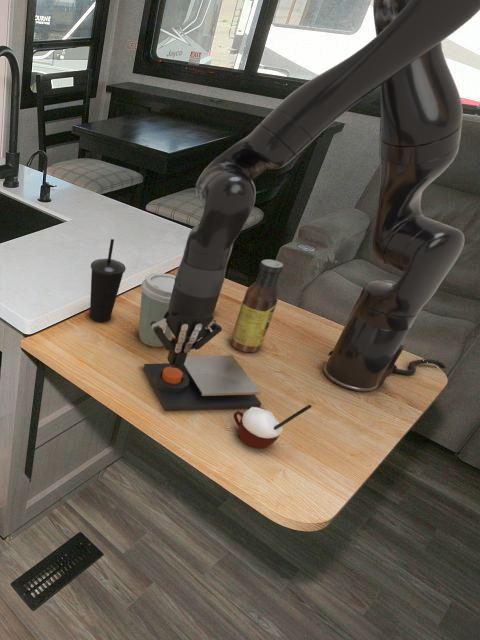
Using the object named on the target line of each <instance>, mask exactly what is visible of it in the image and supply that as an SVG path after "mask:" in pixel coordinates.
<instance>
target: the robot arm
mask: <svg viewBox="0 0 480 640" xmlns="http://www.w3.org/2000/svg"><path fill="white" fill-rule="evenodd" d="M372 11H373V12H372V13H373V23H374V28H375V37H374V38H373V39H371V41H369V42H368V43H367V44H366V45H364V46H363V47H362V48H360V49H359V50H357V51H356V52H355V53H353V54H352V55H350V56H348V57H347V58H345V59H344V60H342V61H341V62H339V63H337V64H336V65H334V66H333V67H330V68H329V69H327V70H325V71H324V72H322V73H319V74H318V75H317V76H315V77H313V78H312V79H310V80H308V81H307V82H305V83H304V84H303V85H301V86H299V87H298V88H296V89H295V90H293V91H292V92H291V93H290V94H289V95H287V96H286V97H285V98H284V99H283V100H282V101H281V102H280V103H279V104H278V105H277V106H276V107H275V108H274V109H273V110H272V111H271V112H270V113H268V115H267V116H266V117H265V118H264V119H263V120H262V121H261V122H260V123H259V124H258V125H257V126H256V127H255V128H254V129H253V130H252V131H251V132H250V133H249V134H248V135H247V136H245V137H244V138H242V139H240V140H239V141H238V142H236V143H234V144H233V145H232V146H230V147H229V148H227V150H225V151H223V152H222V153H221V154H220V155H218V156H216V158H214V159H213V160H212V161H211V162H210V163H209V164H208V165H207V166H206V167H205V168H204V169H203V171H202V172H201V174H200V175H199V176H198V178H197V179H196V183H195V195H196V197H197V199H198V200H199V202H200V203H201V205H202V206H203V211H202V216H201V218H200V221H199V223H198V224H196V225H194V226H193V227H192V228H191V230H190V231H189V233H188V236H187V239H186V243H185V246H184V251H183V255H182V258H181V261H180V263H179V265H178V268H177V271H176V275H175V276H176V277H175V283H174V287H173V290H172V294H171V298H170V302H169V309H168V311H167V312H166V313H165V315H164V319H162V320H160V321H159V322H156V321H152V322H151V323H150V326H151V327H152V329H153V331H154V332H155V334H156V335H157V337H158V338H159V339H160V341H161V342H162V344H163V345H164V346H163V347H164V348H165V350H166V351H168V354H167V358H166V359H167V363H169V364H170V365H171V366H172V368H181V365H183V364H184V363H185V360H186V357H187V356H188V353H189V352H190V351H191V350H195V351H197V350H200V349H201V348H202V347H204V346H205V345H206V344H207V343H208V342H210V341H211V340H212V339H213V338H215V337H216V336H217V335H218V334H220V333H221V332H222V330H223V328H222V326H221V325H220V323H219V322H218V321H217V320H216V319H214V315H213V314H214V313H215V312H216V310H215V308H216V304H217V301H218V302H219V297H220V294H221V291H222V287H223V285H224V282H225V278H226V272H227V268H228V264H229V260H230V257H231V255H232V251H233V248H234V243H235V241H236V240H237V238H238V237H239V236H240V234H241V232H242V231H243V229H244V227H245V225H246V223H247V222H248V220H249V218H250V217H251V215H252V212H253V209H254V207H255V204H256V198H257V196H256V195H257V188H256V185H255V183H254V181H253V180H254V179H256V178H257V177H258V176H259V175H261V174H262V173H264V172H265V171H267V170H279V169H282V168H284V167H285V166H287V165H288V164H289V163H290V162H292V161H293V160H294V159H295V158H296V157H297V156H298V155H299V154H301V152H302V151H304V150H305V149H306V148H307V147H308V146H309V145H310V144H311V143H312V142H314V141H315V139H316V138H318V137H319V136H320V135H321V134H322V133H323V132H324V131H325V130H327V128H329V127H330V126H331V125H332V124H333V123H335V121H337V120H338V119H339V118H341V116H342V115H344V114H345V113H346V112H348V111H349V110H350V109H351V108H352V107H354V106H356V105H357V104H358V103H359V102H361V101H362V100H363V99H364V98H365V97H367V96H369V95H370V94H371V93H372V92H374V91H375V90H377V89H378V88H379V98H380V99H379V103H380V104H379V106H380V108H379V109H380V120H379V122H380V123H379V153H378V154H379V188H378V203H377V211H376V215H375V216H376V217H375V223H374V230H373V235H372V236H373V237H372V251H373V254H374V256H375V257H376V259H378V260H379V261H380V262H381V263H383V264H385V265H387V266H389V267H391V268H393V269H396V270H397V271H399V272H402V275H401V277H400V278H399V280H390V279H378V280H372V281H370V282H367V283H366V284H365V285H364V287H363V288H362V290H361V292H360V294H359V296H358V298H357V300H356V302H355V304H354V307H353V308H352V311H351V313H350V314H349V316H348V319H347V320H346V323H345V324H344V327H343V329H342V331H341V333H340V335H339V337H338V339H337V341H336V343H335V345H334V347H333V349H332V350H330V351H329V353H328V355H327V357H328V360H327V362H326V363H325V365H324V366H323V373H324V375H325V376H326V377H327V379H329V380H330V381H331V382H333V383H335V384H336V385H338V386H340V387H342V388H345V389H348V390H350V391H354V392H355V391H357V392H365V393H366V392H372V391H374V390H376V389H377V388H378V387H382V386H383V384H384V383H385V381H386V380H387V378H388V377H390V376H391V374H392V372H393V373H396V374H399V375H413V374H415V373H416V371H417V369H416V367H415V366H416V365H423V364H431V365H436V366H438V367H439V368H441V369H446V368H447V367H446V365H445V363H443V362H442V361H439V360H436V359H430V358H429V359H427V358H424V359H423V358H422V359H416V360H413V361H410V362H409V363H408V368H409V369H400V368H398V366H397V365H396V362H397V361H398V359H399V357H400V355H401V354H402V352H403V351H404V345H403V344H402V343H403V341H404V340H405V338H406V336H407V334H408V333H409V331H410V329H411V327H412V325H413V324H414V322H415V320H416V319H417V317H418V315H419V314H420V312H421V311H422V309H423V307H424V306H425V305H427V303H428V302H429V301H430V300H431V298H432V297H433V296H434V294H435V293H436V292H437V290H438V288H439V287H440V285H441V284H442V282H443V281H444V279H445V278H446V276H447V275H448V274H449V272H450V271H451V269H452V268H453V266H454V265H455V264H456V262H457V260H458V258H459V257H460V255H461V253H462V251H463V248H464V245H465V235H464V233H463V232H462V231H461V230H460V229H458V228H456V227H453V226H451V225H448V224H446V223H443V222H440V221H438V220H435V219H432V218H429V217H426V216H425V215H424V214H423V213H422V209H421V202H422V195H423V192H424V190H425V189H426V188H427V187H428V186H429V185H430V184H432V183H433V182H434V181H435V180H436V179H437V178H438V177H440V176H441V175H442V174H443V173H444V171H446V170H447V169H448V168H449V166H450V165H451V164H452V163H453V162H454V160H455V158H456V156H457V155H458V152H459V150H460V149H459V148H460V144H461V138H462V137H461V135H462V127H463V117H464V110H463V109H464V108H463V103H462V99H461V96H460V93H459V90H458V86H457V84H456V82H455V80H454V78H453V75H452V73H451V71H450V67H449V66H448V63H447V60H446V59H445V54H444V51H443V47H442V46H443V44H442V42H443V41H444V40H445V39H447V38H449V37H450V36H451V35H452V34H454V33H455V32H456V31H458V30H459V29H461V28H462V26H464V25H465V24H467V22H469V21H470V20H472V18H473V17H474V16H475V15H477V13H479V12H480V0H373V3H372ZM214 311H215V312H214ZM166 325H168V327H169V328H170V330H171V339H170V340H168V338H167V337H166V335H165V334H164V333H165V332H166ZM423 360H424V361H423ZM427 362H428V363H427Z"/></svg>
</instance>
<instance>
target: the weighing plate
mask: <svg viewBox="0 0 480 640" xmlns="http://www.w3.org/2000/svg"><path fill="white" fill-rule="evenodd" d="M183 367H184V368H185V370H186V372H187V373H188V375H189V376H190V378H191V380H192V381H193V383H194V384H195V386H196V388H197V389H198V391H199V392H200V394H201V396H218V395H253V394H255V395H260V394H261V391H260V389H259V387H257V385H256V383H254V381H253V380H252V379H251V377H250V376H249V375H248V374H247V371H245V370H244V368H243V366H241V365H240V363H239V362H238V361H237V360H236V358H235V357H234V355H232V354H229V355H228V354H226V355H222V354H221V355H194V356H193V355H191V356H190V355H189V356H188V355H187V357H186V360H185V363H184V364H183Z"/></svg>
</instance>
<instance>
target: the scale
mask: <svg viewBox="0 0 480 640" xmlns="http://www.w3.org/2000/svg"><path fill="white" fill-rule="evenodd" d="M166 367H172V366H171V365H170V364H169V362H167V363H166V362H165V363H144V365H143V369H142V370H143V371H144V373H145V375H146V377H147V380H148V381H149V383H150V385H151V387H152V388H153V391H154V393H155V395H156V397H157V399H158V401H159V403H160V405H161V406H162V409H163V410H164V412H190V411H191V412H193V411H224V410H229V411H230V410H249V409H250V408H251V407H258V408H260V407H261V405H262V402H261V401H260V399H259V398H258V397H257V396H256V394H253V395H218V396H201V394H200V392H199V391H198V389H197V388H196V386H195V384H194V383H193V381H192V380H191V378H190V376H189V375H188V373H187V372H186V370H185V368H184V367H183V365H181V368H178V369H179V370H181V371H182V373H183V376H182V379H181V382H180V383H178V384H171V383H168V382H166V381H164V380H163V379H162V373H163V370H164V368H166Z"/></svg>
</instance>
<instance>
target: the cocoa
mask: <svg viewBox="0 0 480 640" xmlns="http://www.w3.org/2000/svg"><path fill="white" fill-rule="evenodd" d="M311 408H312V404H308V405H306V406H304V407H302V408H301V409H299V410H298V411H296V412H295V413H293V414H292V415H290V416H289V417H287V418H286V419H284V420H282V421H281V422H280V421H279V420H277V417H276V416H275V415H274V414H273V413H272V411H270V410H267V409H265V408H264V409H263V408H258V407H251V408H250V409H246V411H245V412H244V413H243V412H242V411H235V412H234V414H233V419H234V422H235V424H236V425H237V427H238V428H237V432H238V435H239V438H240V440H241V441H242V442H243V443H245V444H246V445H248V446H250V447H252V448H255V449H265V448H268V447H270V446H271V445H273V444H274V443H275V442H276V441H277V440H278V438H279V437H280V435H281V433H282V432H283V426H284V425H286V424H287V423H289V422H290V421H292V420H295V418H297V417H299V416H300V415H302V414H304V413H305V412H307V411H308V410H311ZM238 415H239V416H240V420H239V418H238Z"/></svg>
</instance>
